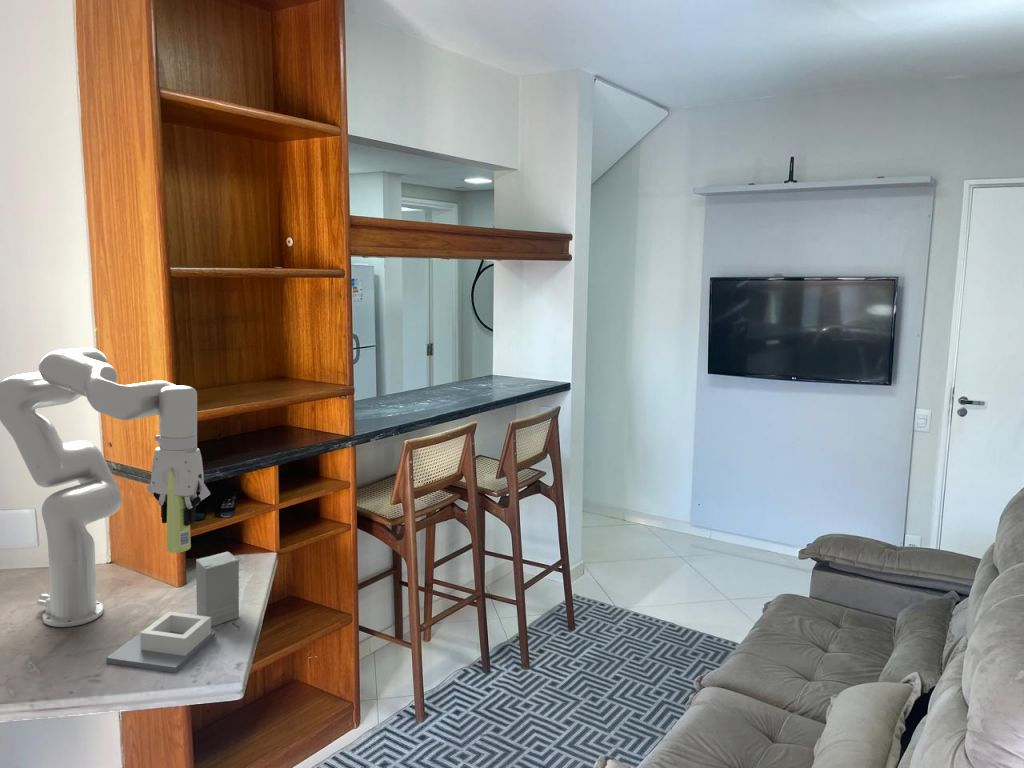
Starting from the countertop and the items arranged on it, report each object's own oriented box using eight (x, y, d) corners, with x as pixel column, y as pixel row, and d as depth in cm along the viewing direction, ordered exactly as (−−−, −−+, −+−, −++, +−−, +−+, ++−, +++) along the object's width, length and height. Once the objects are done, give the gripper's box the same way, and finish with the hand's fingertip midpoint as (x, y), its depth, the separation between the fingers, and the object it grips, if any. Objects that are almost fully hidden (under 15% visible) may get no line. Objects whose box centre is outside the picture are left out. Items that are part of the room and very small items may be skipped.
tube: (162, 546, 166) (162, 462, 163) (186, 542, 169) (186, 459, 166) (169, 555, 161) (169, 468, 158) (194, 550, 165) (193, 466, 162)
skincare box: (228, 609, 186) (228, 549, 184) (240, 620, 181) (241, 558, 179) (194, 618, 180) (194, 557, 178) (206, 630, 175) (206, 566, 173)
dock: (106, 662, 159) (105, 640, 158) (152, 628, 175) (151, 607, 174) (175, 672, 157) (175, 649, 156) (215, 636, 173) (215, 615, 172)
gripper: (131, 442, 159) (132, 524, 161) (205, 450, 157) (204, 532, 159) (153, 435, 166) (153, 513, 169) (223, 442, 164) (223, 521, 167)
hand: (178, 521), depth 164 cm, fingers closed on tube, 4 cm apart
